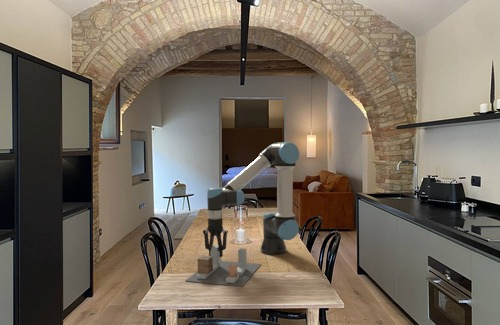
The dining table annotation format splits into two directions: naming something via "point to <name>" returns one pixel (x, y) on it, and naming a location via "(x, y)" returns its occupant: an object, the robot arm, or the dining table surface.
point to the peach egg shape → (232, 270)
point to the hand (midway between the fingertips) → (215, 262)
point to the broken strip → (239, 265)
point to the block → (205, 264)
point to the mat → (226, 275)
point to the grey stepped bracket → (215, 261)
